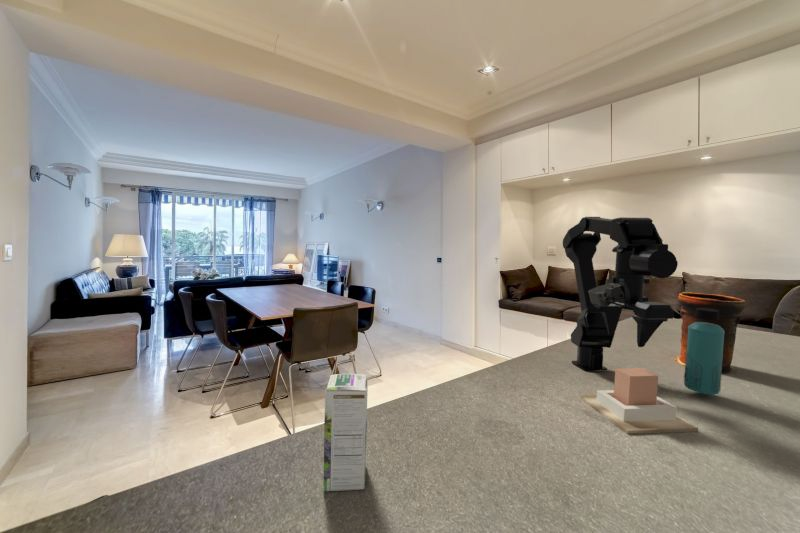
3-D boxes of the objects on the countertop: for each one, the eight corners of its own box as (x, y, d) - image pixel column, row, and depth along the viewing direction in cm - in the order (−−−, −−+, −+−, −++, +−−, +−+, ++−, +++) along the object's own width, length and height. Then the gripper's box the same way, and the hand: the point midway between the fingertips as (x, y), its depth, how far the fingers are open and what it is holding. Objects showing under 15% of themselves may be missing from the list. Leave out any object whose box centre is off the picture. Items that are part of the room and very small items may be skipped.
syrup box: (328, 465, 53) (328, 373, 52) (367, 463, 54) (367, 372, 52) (323, 492, 47) (322, 390, 46) (366, 490, 48) (367, 389, 47)
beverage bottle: (727, 403, 76) (736, 312, 74) (692, 399, 77) (700, 311, 75) (707, 390, 82) (715, 306, 80) (675, 387, 83) (682, 305, 82)
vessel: (674, 352, 110) (682, 289, 108) (737, 365, 100) (747, 297, 98) (666, 363, 100) (674, 294, 98) (735, 379, 90) (746, 303, 87)
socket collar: (596, 401, 74) (597, 390, 74) (643, 400, 75) (644, 389, 75) (623, 421, 66) (624, 408, 66) (675, 419, 67) (677, 407, 67)
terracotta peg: (639, 404, 73) (642, 367, 72) (655, 414, 69) (658, 375, 68) (612, 405, 72) (615, 368, 72) (627, 415, 68) (630, 376, 68)
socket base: (580, 398, 77) (580, 395, 77) (639, 396, 78) (639, 393, 78) (627, 433, 63) (627, 430, 63) (697, 431, 64) (698, 427, 64)
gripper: (572, 269, 87) (568, 330, 88) (627, 277, 69) (621, 354, 70) (613, 269, 88) (609, 329, 89) (678, 278, 70) (672, 354, 71)
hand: (624, 340), depth 80 cm, fingers open, 9 cm apart
